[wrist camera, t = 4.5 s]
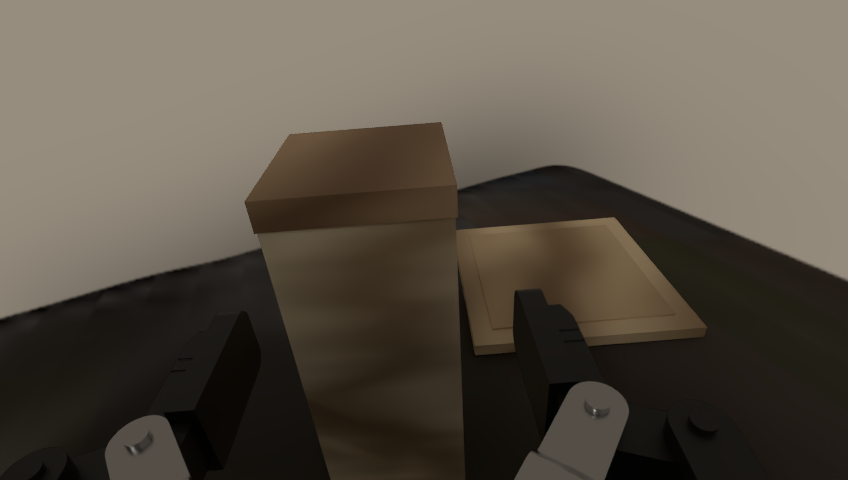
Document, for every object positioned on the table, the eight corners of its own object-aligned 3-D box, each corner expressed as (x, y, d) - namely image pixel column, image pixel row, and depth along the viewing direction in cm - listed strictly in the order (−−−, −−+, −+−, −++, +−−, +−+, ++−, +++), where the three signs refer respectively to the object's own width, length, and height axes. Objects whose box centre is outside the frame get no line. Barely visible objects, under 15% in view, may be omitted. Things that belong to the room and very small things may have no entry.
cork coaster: (475, 355, 22) (475, 344, 22) (453, 238, 31) (452, 229, 31) (703, 336, 22) (707, 325, 22) (613, 225, 31) (614, 216, 31)
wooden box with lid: (337, 510, 16) (244, 202, 10) (350, 402, 20) (289, 134, 14) (467, 499, 16) (456, 184, 10) (454, 394, 20) (441, 122, 14)
